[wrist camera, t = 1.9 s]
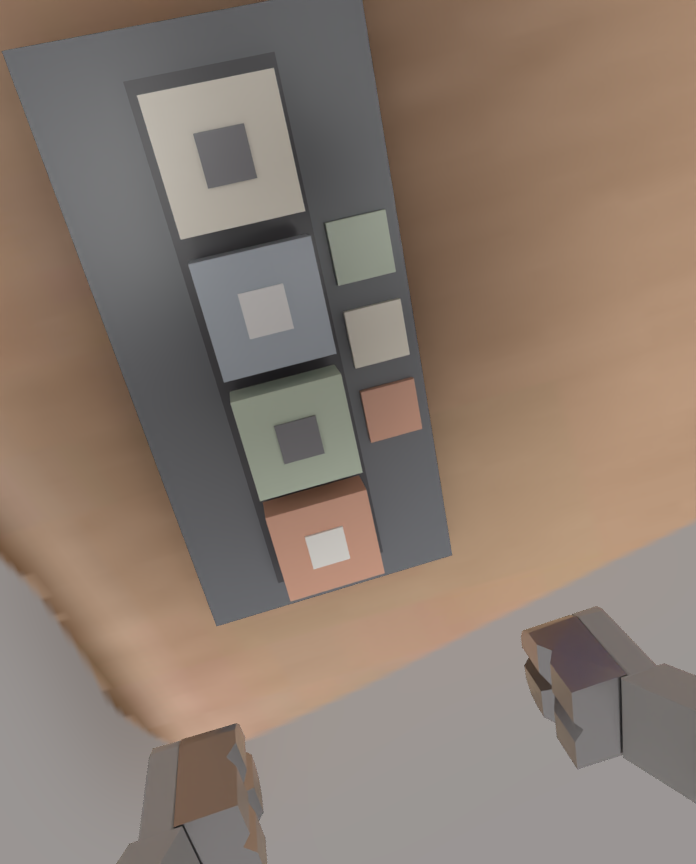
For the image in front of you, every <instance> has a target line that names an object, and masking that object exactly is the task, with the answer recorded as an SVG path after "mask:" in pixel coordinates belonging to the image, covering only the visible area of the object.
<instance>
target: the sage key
mask: <svg viewBox="0 0 696 864" xmlns="http://www.w3.org/2000/svg"><path fill="white" fill-rule="evenodd" d="M230 404H231V407H232V410H233V414H234V417H235V420H236V424H237V427H238V430H239V433H240V437H241V440H242V443H243V447H244V450H245V453H246V457H247V460H248V463H249V466H250V470H251V473H252V476H253V480H254V483H255V486H256V489H257V493H258V496H259V499H260V501H263V500H267V499H270V498H274V497H277V496H281V495H285V494H288V493H292V492H295V491H299V490H302V489H306V488H309V487H313V486H316V485H320V484H324V483H327V482H331V481H334V480H338V479H341V478H345V477H348V476H352V475H356V474H359V473H363V471H362V467H361V462H360V458H359V453H358V449H357V444H356V440H355V435H354V430H353V426H352V421H351V417H350V412H349V408H348V403H347V399H346V394H345V389H344V385H343V380H342V376H341V373H340V372H339V370H338V369H337V368H336V366H335V365H331V366H327V367H323V368H319V369H315V370H311V371H308V372H304V373H300V374H296V375H292V376H288V377H284V378H281V379H277V380H273V381H269V382H265V383H261V384H258V385H254V386H250V387H246V388H242V389H238V390H234V391H231V392H230Z"/></svg>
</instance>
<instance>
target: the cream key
mask: <svg viewBox="0 0 696 864" xmlns="http://www.w3.org/2000/svg"><path fill="white" fill-rule="evenodd" d="M137 98H138V101H139V104H140V108H141V111H142V114H143V118H144V121H145V124H146V127H147V131H148V134H149V137H150V141H151V144H152V147H153V150H154V154H155V157H156V160H157V164H158V167H159V170H160V173H161V177H162V180H163V183H164V187H165V190H166V193H167V197H168V200H169V203H170V206H171V210H172V213H173V216H174V220H175V223H176V226H177V229H178V233H179V236H180V239H181V240H182V239H186V238H191V237H195V236H199V235H204V234H208V233H212V232H217V231H221V230H225V229H230V228H234V227H239V226H243V225H247V224H252V223H256V222H260V221H265V220H269V219H273V218H278V217H282V216H286V215H291V214H295V213H300V212H304V211H305V207H304V203H303V198H302V194H301V189H300V184H299V180H298V175H297V171H296V166H295V162H294V157H293V153H292V148H291V143H290V139H289V134H288V130H287V125H286V121H285V116H284V112H283V107H282V102H281V98H280V93H279V89H278V84H277V80H276V75H275V71H274V68H270V69H265V70H260V71H255V72H250V73H245V74H240V75H235V76H231V77H226V78H221V79H216V80H211V81H206V82H201V83H196V84H191V85H186V86H181V87H176V88H171V89H166V90H161V91H156V92H151V93H146V94H141V95H137Z"/></svg>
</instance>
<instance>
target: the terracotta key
mask: <svg viewBox="0 0 696 864" xmlns="http://www.w3.org/2000/svg"><path fill="white" fill-rule="evenodd" d="M263 506H264V513H265V519H266V522H267V526H268V529H269V532H270V536H271V539H272V542H273V545H274V549H275V552H276V555H277V559H278V562H279V565H280V568H281V572H282V575H283V578H284V582H285V585H286V588H287V591H288V595H289V598H290V601H294V600H298V599H301V598H304V597H308V596H311V595H314V594H318V593H321V592H324V591H328V590H331V589H334V588H338V587H341V586H344V585H347V584H351V583H354V582H357V581H361V580H364V579H367V578H371V577H374V576H377V575H381V574H384V573H385V572H384V567H383V563H382V558H381V553H380V549H379V544H378V540H377V535H376V531H375V526H374V522H373V517H372V512H371V508H370V503H369V499H368V494H367V490H366V488H365V486H364V484H363V482H362V480H361V478H360V476H359V475H358V476H354V477H351V478H347V479H343V480H340V481H336V482H333V483H329V484H326V485H322V486H319V487H315V488H312V489H308V490H304V491H301V492H297V493H294V494H290V495H287V496H283V497H280V498H276V499H272V500H269V501H265V502H263Z"/></svg>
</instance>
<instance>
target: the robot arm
mask: <svg viewBox="0 0 696 864" xmlns="http://www.w3.org/2000/svg"><path fill="white" fill-rule="evenodd" d="M521 641H522V648H523V649H524V651H525V652H526V654H527V655H528V657H529V658H528V660H527V661H526V663H525V665H524V667H525V674H526V680H527V683H528V686H529V689H530V692H531V695H532V697H533V699H534V701H535V703H536V705H537V707H538V708H539V710H540V711H541V713H542V715H543V716H544V717H545V718H547V719H549V720H551V721H553V722H555V725H556V734H557V738H558V740H559V741H560V743H561V745H562V746H563V748H564V749H565V751H566V752H567V754H568V756H569V757H570V759H571V760H572V762H573V763H574V765H575V766H576V768H577V769H580V768H583V767H586V766H589V765H593V764H596V763H599V762H602V761H605V760H608V759H611V758H614V757H618V756H620V755H623V758H625V759H626V760H628V761H630V762H631V763H633V764H634V765H636V766H638V767H639V768H641V769H642V770H644V771H645V772H647V773H649V774H650V775H652V776H653V777H655V778H656V779H658V780H660V781H661V782H663V783H664V784H666V785H667V786H669V787H671V788H672V789H674V790H675V791H677V792H679V793H680V794H682V795H683V796H685V797H687V798H688V799H690V800H691V801H693V802H694V803H696V675H693V674H691V673H688V672H685V671H683V670H680V669H677V668H675V667H673V666H670V665H667V664H665V663H664V664H661V665H656V664H655V663H654V662H653V661H652V660H651V659H650V658H649V657H648V656H647V655H646V654H645V653H644V652H643V651H642V650H641V649H640V648H639V646H638V645H637V644H635V642H634V641H633V640H632V639H631V638H630V637H629V636H628V635H627V634H626V633H625V632H624V631H623V630H622V629H621V628H620V627H619V626H618V625H617V624H616V623H615V621H614V620H613V619H612V618H611V617H610V616H609V615H608V614H607V613H606V612H605V611H604V610H603V609H602V608H600V607H597V606H595V607H592V608H590V609H586V610H583V611H580V612H577V613H574V614H572V615H568V616H565V617H562V618H559V619H557V620H553V621H550V622H547V623H544V624H541V625H538V626H535V627H532V628H529V629H526V630H523V631H522V635H521ZM262 814H263V801H262V793H261V787H260V782H259V777H258V773H257V769H256V765H255V762H254V760H253V757H252V755H251V754H249V753H247V752H246V749H245V736H244V734H243V732H242V729H241V727H240V725H239V724H237V723H236V724H233V725H229V726H226V727H222V728H219V729H216V730H212V731H209V732H205V733H202V734H199V735H195V736H192V737H188V738H185V739H182V740H180V741H177V742H173V743H170V744H167V745H163V746H160V747H156V748H153V750H152V752H151V754H150V757H149V760H148V768H147V776H146V784H145V792H144V800H143V808H142V815H141V824H140V831H139V839H138V841H136V842H134V843H131V844H129V845H128V847H127V848H126V850H125V852H124V853H123V854H122V856H121V857H120V859H119V860H118V862H117V863H116V864H267V853H266V840H265V835H264V833H263V830H262V828H261V825H260V823H259V820H260V818H261V816H262Z"/></svg>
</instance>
